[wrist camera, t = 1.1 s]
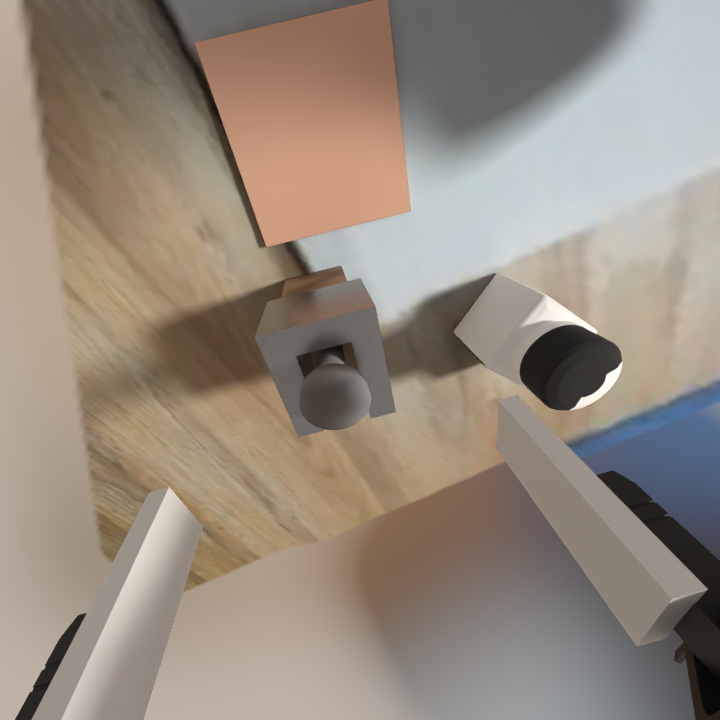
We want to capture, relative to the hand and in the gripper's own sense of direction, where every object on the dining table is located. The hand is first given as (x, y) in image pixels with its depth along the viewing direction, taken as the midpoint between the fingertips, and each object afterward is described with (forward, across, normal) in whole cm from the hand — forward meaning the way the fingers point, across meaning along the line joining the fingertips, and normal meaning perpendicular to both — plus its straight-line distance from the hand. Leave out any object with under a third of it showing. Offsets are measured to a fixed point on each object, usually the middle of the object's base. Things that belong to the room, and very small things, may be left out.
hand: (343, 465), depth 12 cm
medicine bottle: (+19, +17, -6) cm, 26 cm away
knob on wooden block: (+19, 0, -1) cm, 19 cm away
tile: (+19, +3, +12) cm, 22 cm away
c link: (+14, 0, -1) cm, 14 cm away
